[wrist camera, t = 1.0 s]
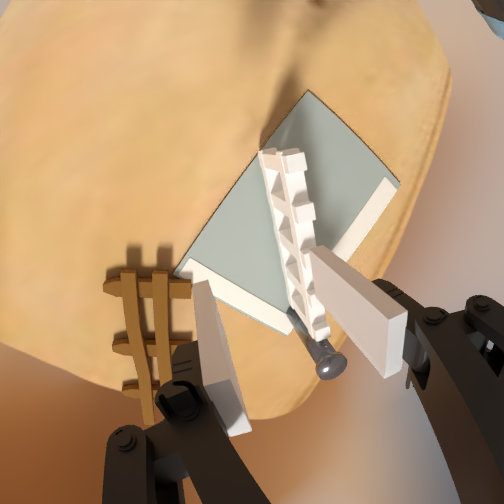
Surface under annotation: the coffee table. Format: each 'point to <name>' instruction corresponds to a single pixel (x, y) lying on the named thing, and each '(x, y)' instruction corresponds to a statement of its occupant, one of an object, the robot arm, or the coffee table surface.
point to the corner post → (318, 350)
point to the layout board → (261, 223)
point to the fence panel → (294, 232)
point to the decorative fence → (136, 345)
